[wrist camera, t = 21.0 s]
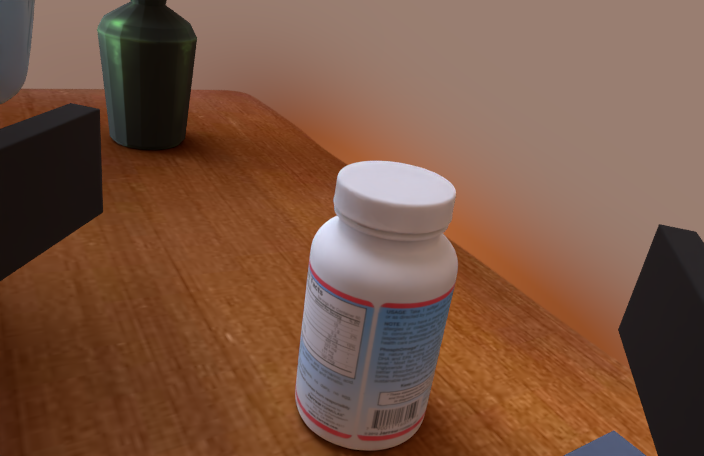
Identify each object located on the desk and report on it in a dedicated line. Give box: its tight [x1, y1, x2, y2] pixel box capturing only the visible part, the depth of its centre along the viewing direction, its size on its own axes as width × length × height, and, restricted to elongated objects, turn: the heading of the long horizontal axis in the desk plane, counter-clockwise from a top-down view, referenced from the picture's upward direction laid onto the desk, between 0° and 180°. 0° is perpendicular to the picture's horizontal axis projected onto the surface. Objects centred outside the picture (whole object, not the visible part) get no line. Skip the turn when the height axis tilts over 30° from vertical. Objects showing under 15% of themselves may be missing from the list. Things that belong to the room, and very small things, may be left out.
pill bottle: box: [295, 161, 458, 451], centre depth 27 cm, size 6×6×11 cm
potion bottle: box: [97, 0, 197, 150], centre depth 54 cm, size 8×8×18 cm
